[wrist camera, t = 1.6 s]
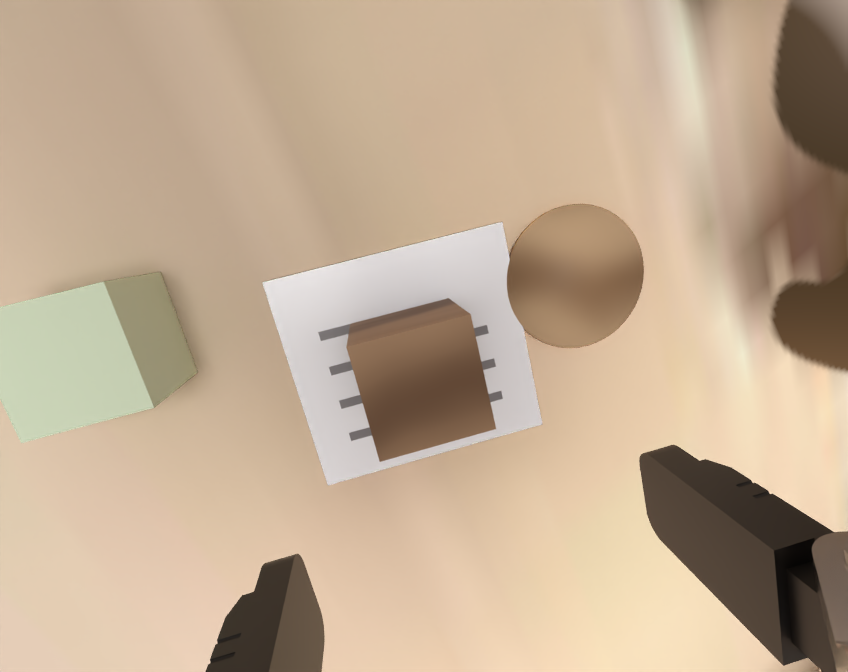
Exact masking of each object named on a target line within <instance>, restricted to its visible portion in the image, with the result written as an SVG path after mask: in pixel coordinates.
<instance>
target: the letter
mask: <svg viewBox="0 0 848 672" xmlns="http://www.w3.org/2000/svg"><path fill="white" fill-rule="evenodd" d="M509 261H510V258H509V253H508V248H507V243H506V238H505V233H504V228H503V223H502V222H499V223H495V224H491V225H487V226H483V227H479V228H475V229H471V230H467V231H463V232H459V233H455V234H451V235H447V236H443V237H439V238H435V239H431V240H427V241H424V242H420V243H416V244H412V245H408V246H404V247H400V248H396V249H392V250H388V251H384V252H380V253H376V254H372V255H368V256H364V257H360V258H356V259H352V260H348V261H344V262H340V263H337V264H333V265H329V266H325V267H321V268H317V269H313V270H309V271H305V272H301V273H297V274H293V275H289V276H285V277H281V278H277V279H273V280H269V281H265V282H262V283H263V287H264V290H265V293H266V296H267V299H268V302H269V305H270V308H271V311H272V314H273V317H274V321H275V324H276V327H277V330H278V333H279V336H280V339H281V342H282V345H283V348H284V351H285V354H286V358H287V361H288V364H289V367H290V370H291V373H292V376H293V379H294V382H295V385H296V388H297V392H298V395H299V398H300V401H301V404H302V407H303V410H304V413H305V416H306V419H307V422H308V426H309V429H310V432H311V435H312V438H313V441H314V444H315V447H316V450H317V453H318V456H319V459H320V463H321V466H322V469H323V472H324V475H325V478H326V481H327V484H328V485H331V484H335V483H338V482H342V481H345V480H349V479H352V478H356V477H359V476H363V475H366V474H370V473H373V472H377V471H380V470H384V469H388V468H391V467H395V466H398V465H402V464H405V463H409V462H412V461H416V460H419V459H423V458H426V457H430V456H433V455H437V454H440V453H444V452H447V451H451V450H454V449H458V448H461V447H465V446H468V445H472V444H475V443H479V442H482V441H486V440H489V439H493V438H496V437H500V436H503V435H507V434H510V433H514V432H517V431H521V430H524V429H528V428H531V427H535V426H538V425H542V419H541V414H540V409H539V404H538V399H537V394H536V389H535V384H534V379H533V374H532V369H531V364H530V359H529V354H528V349H527V344H526V338H525V333H524V328H523V326H522V325H521V324H520V322H519V321H518V319H517V318H516V316H515V314H514V312H513V310H512V308H511V305H510V302H509V298H508V294H509V293H508V292H507V291H508V290H507V271H508V265H509ZM508 280H509V279H508ZM511 286H512V285H511ZM508 287H509V286H508ZM447 298H449V299H451V300H452V301H453V302H455V303H456V304H457V305H459V306H460V307H462V308H463V309H464V310H466V311H467V312H468V313H470V314H471V318H472V322H473V327H474V331H475V336H476V340H477V345H478V349H479V354H480V358H481V363H482V367H483V372H484V376H485V380H486V385H487V389H488V394H489V398H490V403H491V407H492V412H493V416H494V421H495V425H496V429H494V430H491V431H487V432H484V433H480V434H477V435H473V436H470V437H466V438H463V439H459V440H455V441H452V442H448V443H445V444H441V445H438V446H434V447H431V448H427V449H424V450H420V451H417V452H413V453H410V454H406V455H403V456H399V457H396V458H392V459H388V460H385V461H381V462H380V461H379V458H378V454H377V451H376V447H375V444H374V440H373V437H372V433H371V430H370V427H369V423H368V420H367V416H366V413H365V409H364V406H363V403H362V399H361V396H360V392H359V389H358V385H357V382H356V379H355V375H354V372H353V368H352V365H351V361H350V358H349V355H348V351H347V348H346V346H347V340H348V334H349V328H350V324H352V323H356V322H359V321H363V320H367V319H371V318H375V317H378V316H382V315H386V314H390V313H394V312H397V311H401V310H405V309H409V308H413V307H417V306H420V305H424V304H428V303H432V302H436V301H439V300H443V299H447ZM511 301H512V300H511Z"/></svg>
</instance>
